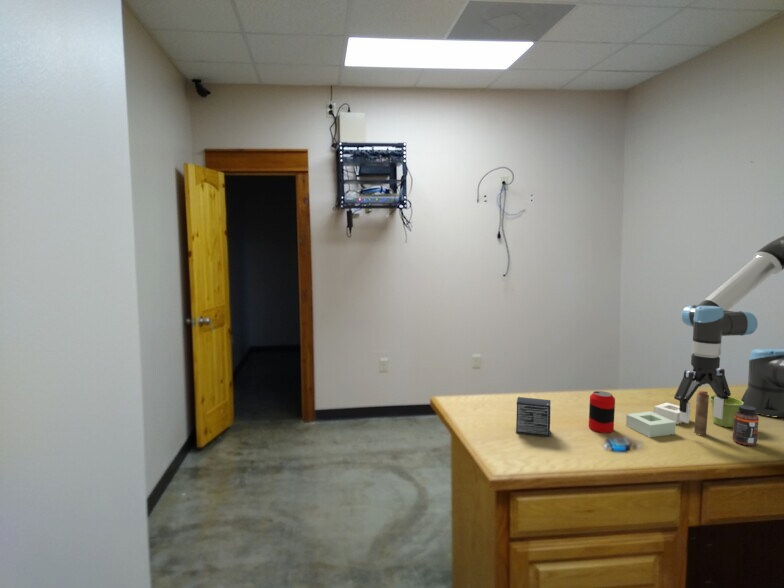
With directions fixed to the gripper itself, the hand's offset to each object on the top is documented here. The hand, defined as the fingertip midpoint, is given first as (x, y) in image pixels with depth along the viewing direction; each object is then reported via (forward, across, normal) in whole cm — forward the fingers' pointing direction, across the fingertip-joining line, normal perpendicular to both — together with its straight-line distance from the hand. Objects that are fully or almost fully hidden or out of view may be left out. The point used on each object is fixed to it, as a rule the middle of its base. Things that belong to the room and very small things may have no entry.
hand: (701, 419), depth 149 cm
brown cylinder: (+5, 0, 0) cm, 5 cm away
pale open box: (+5, +13, -7) cm, 15 cm away
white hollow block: (+5, -2, -13) cm, 14 cm away
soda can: (+5, +28, -12) cm, 31 cm away
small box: (+5, +51, -16) cm, 54 cm away
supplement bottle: (+5, -7, +9) cm, 12 cm away
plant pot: (+5, -15, -4) cm, 16 cm away
